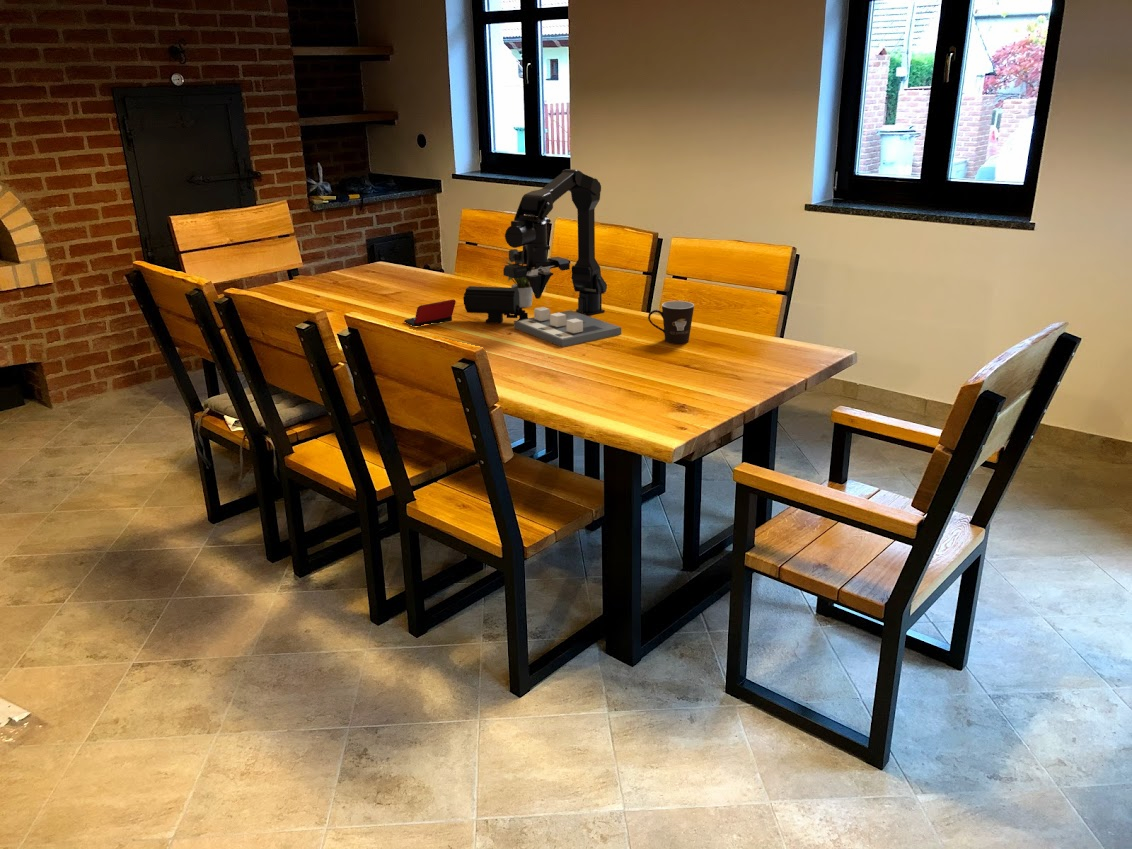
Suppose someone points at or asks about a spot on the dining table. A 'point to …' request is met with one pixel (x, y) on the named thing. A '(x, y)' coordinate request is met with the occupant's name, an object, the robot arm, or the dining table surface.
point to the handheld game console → (433, 313)
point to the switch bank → (561, 336)
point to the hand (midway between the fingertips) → (537, 298)
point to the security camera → (494, 302)
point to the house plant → (523, 290)
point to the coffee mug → (676, 321)
